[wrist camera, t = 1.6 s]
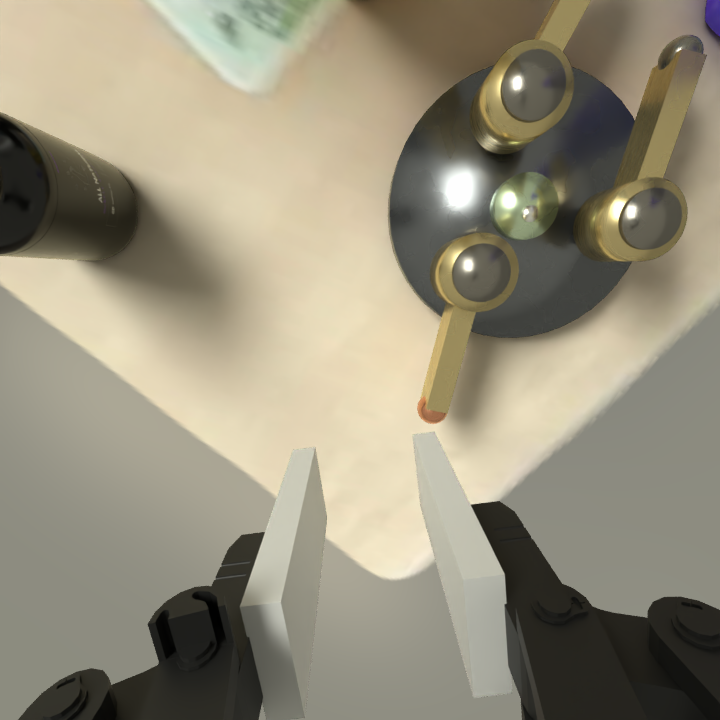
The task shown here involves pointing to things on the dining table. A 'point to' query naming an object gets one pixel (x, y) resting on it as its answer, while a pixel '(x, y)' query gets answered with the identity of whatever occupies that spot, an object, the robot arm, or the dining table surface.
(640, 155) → the knob
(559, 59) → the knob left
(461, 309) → the knob
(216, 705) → the robot arm
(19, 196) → the supplement bottle
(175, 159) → the dining table surface
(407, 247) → the tribrach plate
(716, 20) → the bottle
